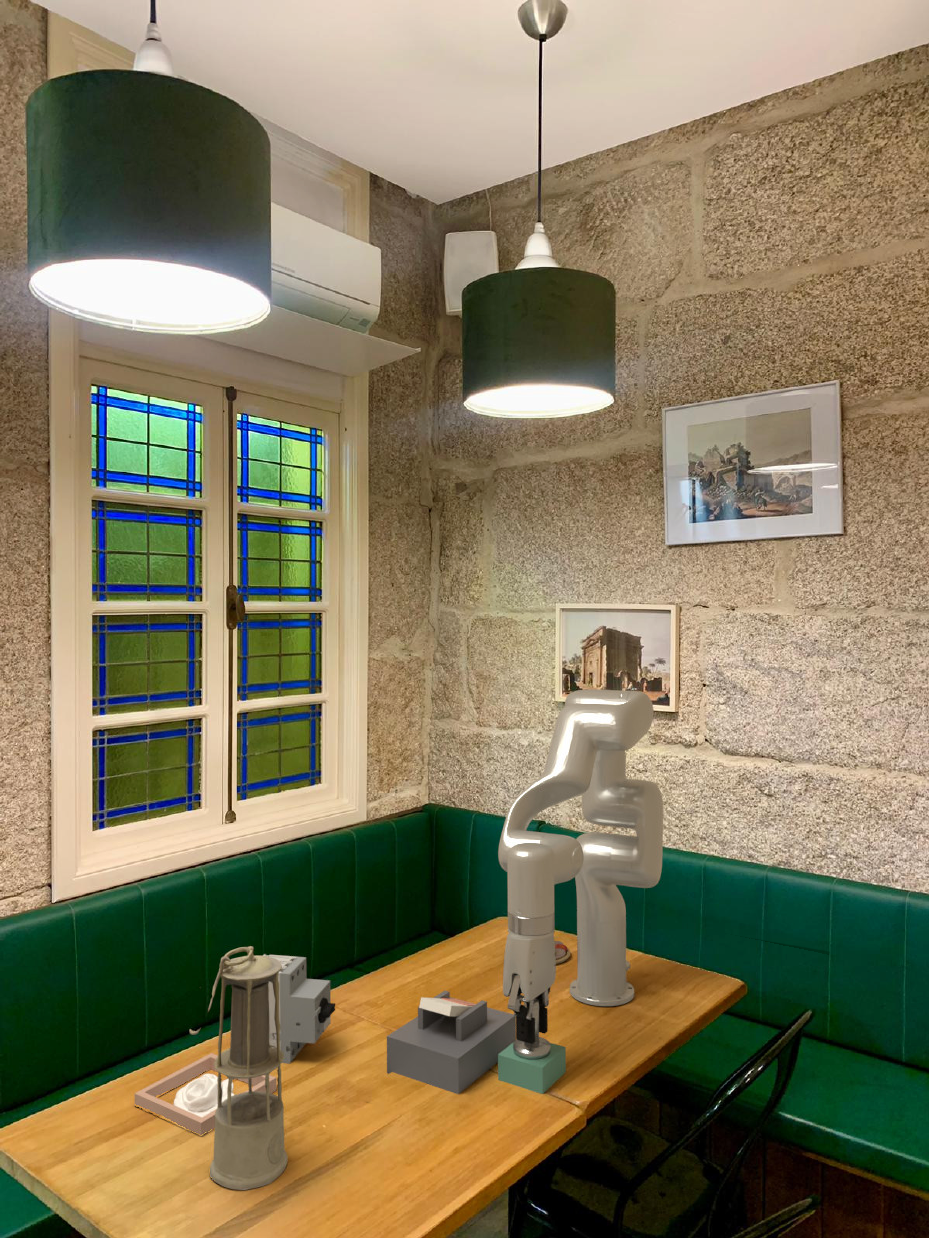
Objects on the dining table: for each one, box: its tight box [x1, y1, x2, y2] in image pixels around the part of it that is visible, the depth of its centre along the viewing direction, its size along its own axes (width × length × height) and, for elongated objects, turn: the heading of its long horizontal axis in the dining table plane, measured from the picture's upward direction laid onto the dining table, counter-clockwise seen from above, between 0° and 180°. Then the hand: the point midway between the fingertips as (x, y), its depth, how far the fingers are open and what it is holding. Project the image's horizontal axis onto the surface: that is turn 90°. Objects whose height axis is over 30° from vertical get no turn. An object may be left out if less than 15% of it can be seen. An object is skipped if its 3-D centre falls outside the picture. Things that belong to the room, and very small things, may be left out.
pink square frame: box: [134, 1052, 277, 1135], centre depth 139 cm, size 15×15×2 cm
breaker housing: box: [386, 990, 516, 1095], centre depth 150 cm, size 18×14×10 cm
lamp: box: [189, 945, 288, 1191], centre depth 120 cm, size 10×13×30 cm
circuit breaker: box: [262, 953, 336, 1065], centre depth 153 cm, size 8×14×15 cm, turn 78°
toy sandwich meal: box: [554, 940, 571, 966], centre depth 196 cm, size 12×14×5 cm
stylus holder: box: [497, 1042, 567, 1095], centre depth 144 cm, size 8×8×4 cm
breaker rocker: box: [418, 997, 477, 1017], centre depth 150 cm, size 11×6×2 cm, turn 147°
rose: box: [173, 1073, 235, 1117], centre depth 136 cm, size 10×4×10 cm
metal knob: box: [513, 999, 551, 1060], centre depth 144 cm, size 6×6×12 cm
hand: (532, 1034), depth 144 cm, fingers open, 3 cm apart
